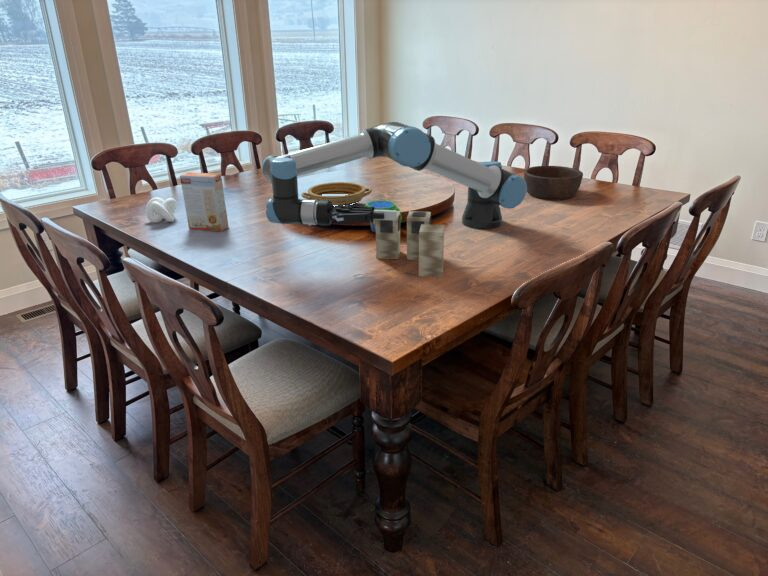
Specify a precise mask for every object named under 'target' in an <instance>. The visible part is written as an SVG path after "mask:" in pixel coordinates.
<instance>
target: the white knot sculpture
mask: <svg viewBox="0 0 768 576" xmlns="http://www.w3.org/2000/svg"><path fill="white" fill-rule="evenodd" d="M177 204H178V203H177V201H176V199H174V198H172V197H168V198H166V199H165V200H164V199H163V198H161V197H152V198H151V199H149V200H148V202H147V203H146V207H145V215H146V218H147V219H148V221H149V222H150V223H153V224H157V223H158V224H159V223H160V222H162V221H163V220H165V221H167V222H169V223H173V222H174V220H175V219H176V217H175V215H174V213H175V212H176V210H177Z"/></svg>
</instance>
